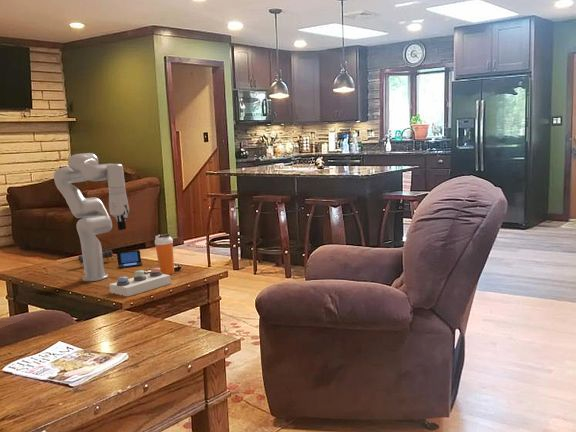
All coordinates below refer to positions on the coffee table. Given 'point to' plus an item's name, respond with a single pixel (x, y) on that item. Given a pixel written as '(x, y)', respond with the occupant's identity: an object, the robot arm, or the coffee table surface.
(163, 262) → the shaker bottle
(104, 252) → the bomb
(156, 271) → the button terracotta
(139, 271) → the button sage
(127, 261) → the object
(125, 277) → the button slate
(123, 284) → the button panel
